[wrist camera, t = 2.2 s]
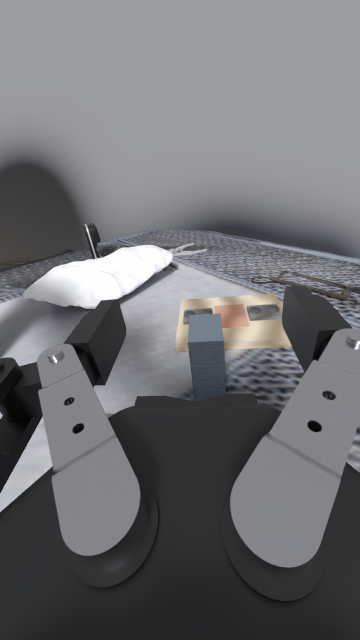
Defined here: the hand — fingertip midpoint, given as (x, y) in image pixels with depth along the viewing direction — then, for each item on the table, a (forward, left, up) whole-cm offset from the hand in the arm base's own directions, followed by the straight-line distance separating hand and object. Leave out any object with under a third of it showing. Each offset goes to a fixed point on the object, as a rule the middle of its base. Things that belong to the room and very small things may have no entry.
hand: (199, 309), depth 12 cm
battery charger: (-35, +68, -19) cm, 79 cm away
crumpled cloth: (-24, +44, -19) cm, 54 cm away
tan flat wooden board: (+4, +26, -19) cm, 32 cm away
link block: (0, +11, -19) cm, 22 cm away
